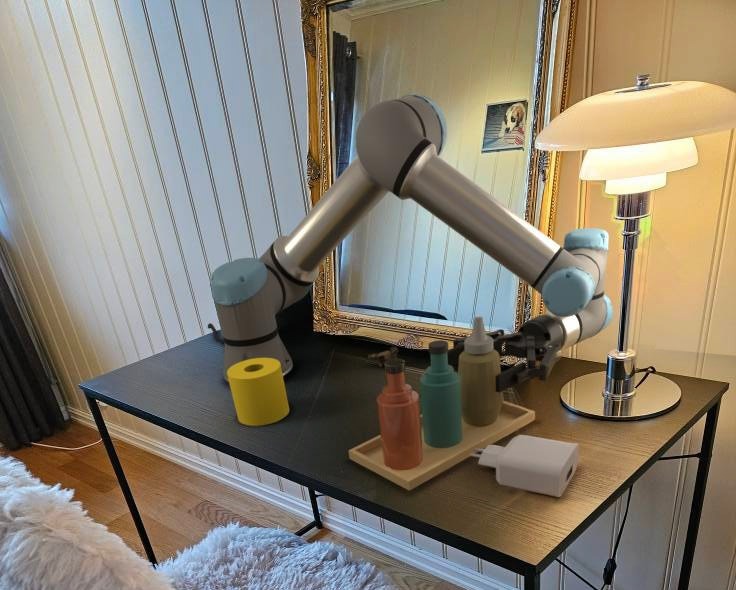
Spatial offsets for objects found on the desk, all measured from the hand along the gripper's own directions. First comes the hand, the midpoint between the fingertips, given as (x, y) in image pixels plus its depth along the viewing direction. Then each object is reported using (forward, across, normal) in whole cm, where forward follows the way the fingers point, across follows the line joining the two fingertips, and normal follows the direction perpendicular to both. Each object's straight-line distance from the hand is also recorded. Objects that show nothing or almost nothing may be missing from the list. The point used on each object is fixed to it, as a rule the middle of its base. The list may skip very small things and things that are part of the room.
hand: (465, 373), depth 106 cm
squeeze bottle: (-3, 0, -10) cm, 10 cm away
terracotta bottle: (+15, 0, -10) cm, 18 cm away
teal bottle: (+6, 0, -10) cm, 11 cm away
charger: (+6, -16, -10) cm, 20 cm away
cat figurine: (-10, +34, -10) cm, 37 cm away
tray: (+5, 0, -10) cm, 12 cm away
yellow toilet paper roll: (+20, +35, -10) cm, 42 cm away
